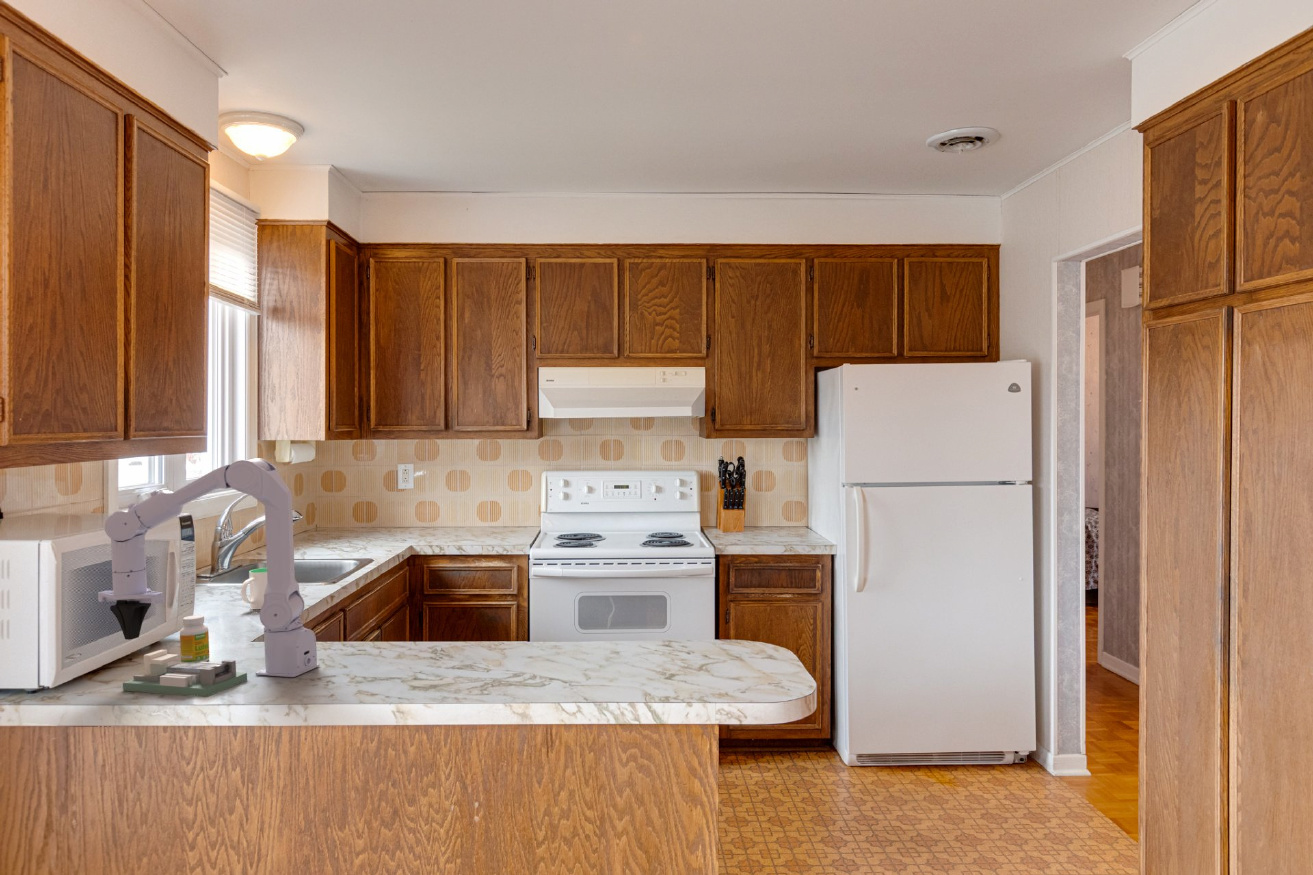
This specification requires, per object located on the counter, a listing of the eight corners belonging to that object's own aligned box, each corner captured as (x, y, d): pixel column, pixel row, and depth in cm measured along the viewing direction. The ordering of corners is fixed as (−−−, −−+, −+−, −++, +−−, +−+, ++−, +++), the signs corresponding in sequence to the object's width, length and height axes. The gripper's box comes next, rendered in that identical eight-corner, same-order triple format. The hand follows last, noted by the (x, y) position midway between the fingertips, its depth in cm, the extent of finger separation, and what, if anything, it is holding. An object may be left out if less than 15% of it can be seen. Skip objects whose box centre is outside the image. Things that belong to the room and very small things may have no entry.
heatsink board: (247, 680, 163) (246, 657, 163) (206, 697, 153) (205, 673, 153) (167, 674, 169) (166, 652, 169) (123, 690, 159) (122, 667, 159)
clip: (179, 673, 164) (178, 650, 164) (162, 679, 160) (161, 656, 160) (162, 671, 165) (161, 649, 165) (144, 678, 161) (143, 655, 161)
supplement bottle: (196, 665, 175) (194, 620, 174) (174, 665, 176) (173, 619, 176) (215, 658, 180) (213, 614, 180) (193, 658, 181) (192, 614, 181)
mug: (256, 613, 224) (255, 575, 224) (232, 612, 227) (231, 574, 226) (288, 604, 236) (286, 567, 236) (265, 603, 238) (263, 567, 238)
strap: (229, 671, 160) (229, 662, 160) (214, 677, 157) (214, 668, 157) (180, 669, 164) (180, 660, 163) (165, 674, 160) (165, 665, 160)
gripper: (175, 567, 166) (177, 634, 166) (119, 566, 170) (122, 631, 170) (144, 574, 159) (147, 644, 160) (87, 572, 163) (89, 640, 164)
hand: (132, 638), depth 164 cm, fingers closed
